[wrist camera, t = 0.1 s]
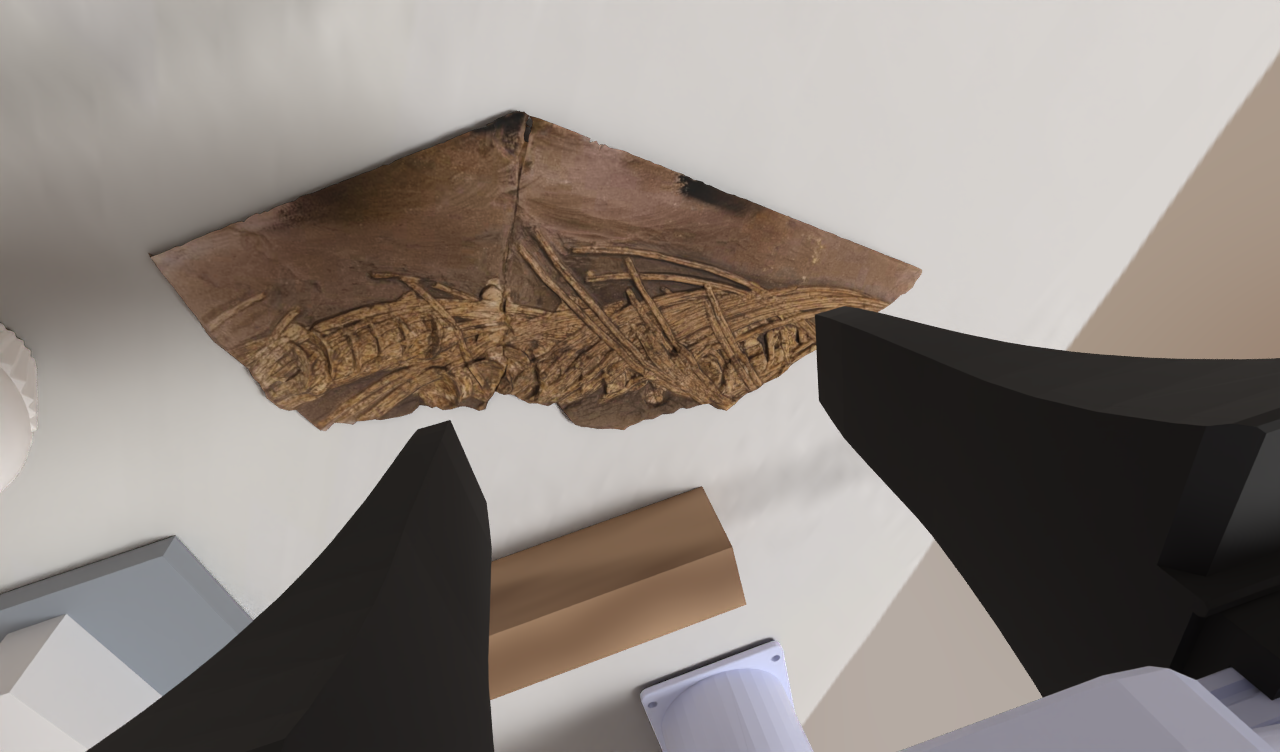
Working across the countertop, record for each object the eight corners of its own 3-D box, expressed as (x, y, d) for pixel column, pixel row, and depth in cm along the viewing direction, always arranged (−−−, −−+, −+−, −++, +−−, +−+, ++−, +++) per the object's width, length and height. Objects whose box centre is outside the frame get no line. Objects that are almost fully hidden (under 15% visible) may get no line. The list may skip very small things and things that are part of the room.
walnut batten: (714, 537, 28) (746, 604, 25) (382, 657, 27) (368, 745, 24) (700, 482, 27) (732, 547, 23) (344, 609, 26) (322, 696, 22)
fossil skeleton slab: (195, 423, 20) (182, 441, 19) (110, 57, 15) (87, 58, 14) (860, 418, 27) (873, 431, 26) (949, 163, 22) (969, 168, 21)
